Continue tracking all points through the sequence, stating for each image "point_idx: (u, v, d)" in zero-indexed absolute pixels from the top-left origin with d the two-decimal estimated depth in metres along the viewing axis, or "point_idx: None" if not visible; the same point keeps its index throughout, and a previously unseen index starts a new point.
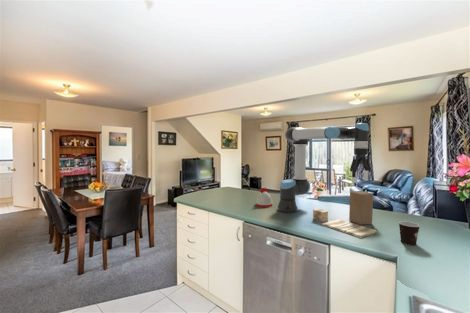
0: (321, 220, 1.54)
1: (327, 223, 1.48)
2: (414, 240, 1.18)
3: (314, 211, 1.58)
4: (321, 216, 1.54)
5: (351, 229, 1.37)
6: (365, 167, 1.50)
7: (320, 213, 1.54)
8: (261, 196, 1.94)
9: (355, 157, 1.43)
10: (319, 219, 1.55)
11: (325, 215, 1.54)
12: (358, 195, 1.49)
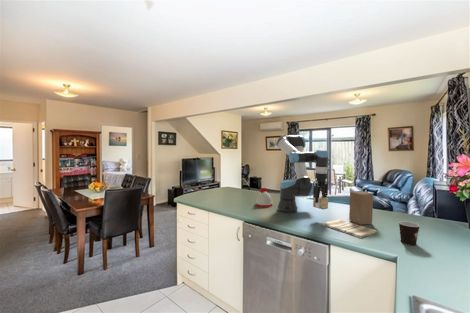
0: (321, 207, 1.54)
1: (327, 223, 1.48)
2: (414, 240, 1.18)
3: (314, 198, 1.58)
4: (321, 203, 1.54)
5: (351, 229, 1.37)
6: (323, 192, 1.58)
7: (320, 200, 1.54)
8: (261, 196, 1.94)
9: (315, 184, 1.53)
10: None
11: (325, 202, 1.54)
12: (358, 195, 1.49)
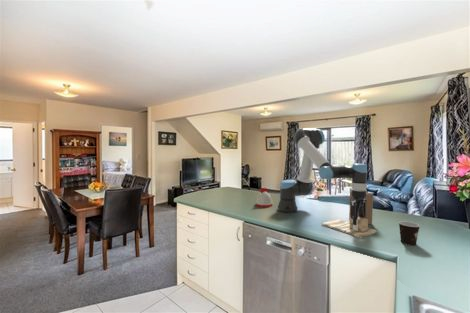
0: (360, 229, 1.33)
1: (327, 223, 1.48)
2: (414, 240, 1.18)
3: (351, 219, 1.38)
4: (360, 225, 1.33)
5: (351, 229, 1.37)
6: (360, 212, 1.38)
7: (359, 221, 1.34)
8: (261, 196, 1.94)
9: (353, 204, 1.33)
10: (358, 228, 1.35)
11: (365, 224, 1.33)
12: None
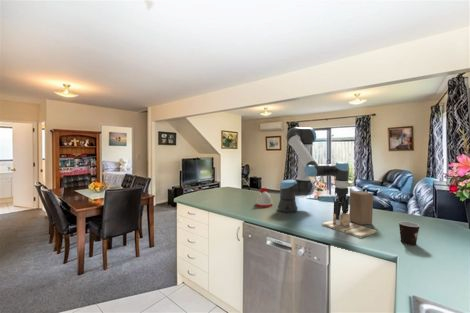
0: (343, 224, 1.42)
1: (327, 223, 1.48)
2: (414, 240, 1.18)
3: (334, 214, 1.47)
4: (343, 220, 1.42)
5: (351, 229, 1.37)
6: (343, 208, 1.47)
7: (341, 216, 1.43)
8: (261, 196, 1.94)
9: (335, 200, 1.42)
10: None
11: (347, 219, 1.42)
12: (358, 195, 1.49)
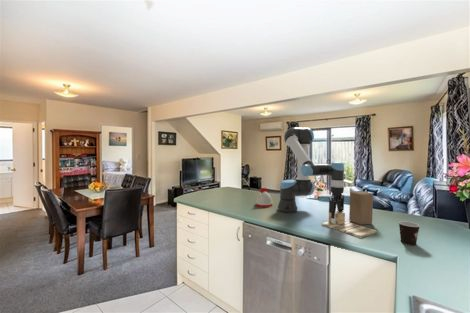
0: (338, 223, 1.45)
1: (327, 223, 1.48)
2: (414, 240, 1.18)
3: (330, 213, 1.50)
4: (338, 218, 1.45)
5: (351, 229, 1.37)
6: (339, 207, 1.50)
7: (337, 215, 1.46)
8: (261, 196, 1.94)
9: (331, 199, 1.44)
10: None
11: (342, 217, 1.45)
12: (358, 195, 1.49)
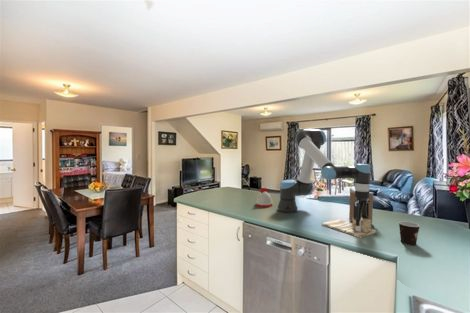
0: (363, 230, 1.32)
1: (327, 223, 1.48)
2: (414, 240, 1.18)
3: (354, 220, 1.36)
4: (364, 226, 1.32)
5: (351, 229, 1.37)
6: (363, 213, 1.37)
7: (362, 222, 1.32)
8: (261, 196, 1.94)
9: (356, 204, 1.31)
10: (361, 229, 1.33)
11: (368, 225, 1.32)
12: None
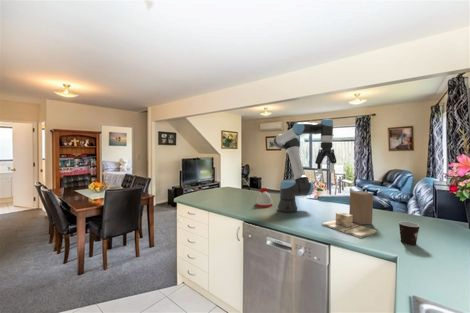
0: (345, 225, 1.41)
1: (327, 223, 1.48)
2: (414, 240, 1.18)
3: (337, 215, 1.46)
4: (345, 220, 1.41)
5: (351, 229, 1.37)
6: (331, 160, 1.62)
7: (344, 217, 1.42)
8: (261, 196, 1.94)
9: (320, 150, 1.54)
10: (343, 224, 1.42)
11: (349, 219, 1.41)
12: (358, 195, 1.49)
